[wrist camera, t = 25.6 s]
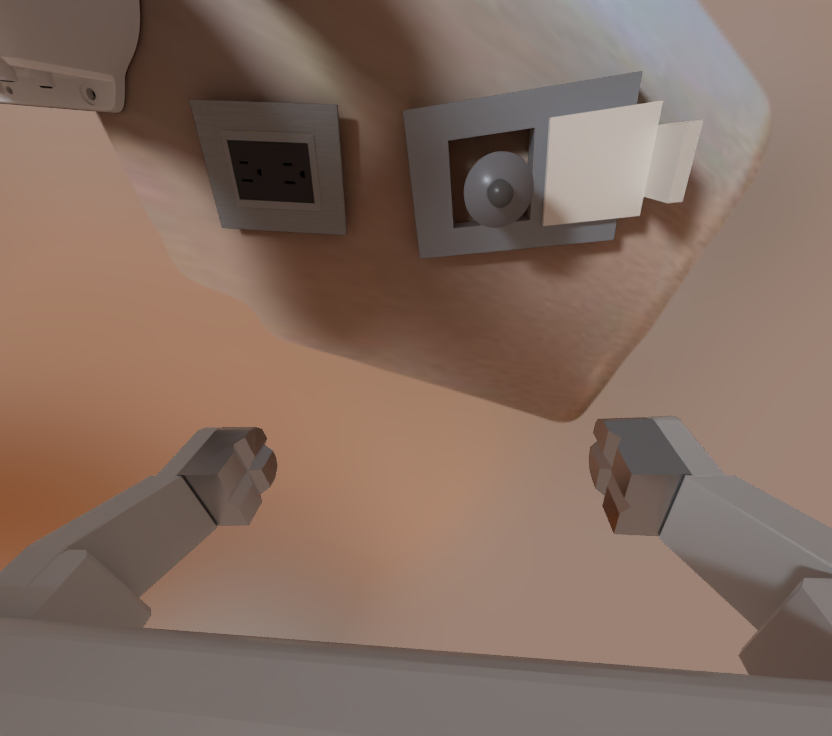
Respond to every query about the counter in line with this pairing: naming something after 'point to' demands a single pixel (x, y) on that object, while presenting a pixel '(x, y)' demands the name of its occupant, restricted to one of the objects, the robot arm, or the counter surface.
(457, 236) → the socket block
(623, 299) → the counter surface
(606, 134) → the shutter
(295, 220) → the electrical outlet
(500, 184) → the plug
